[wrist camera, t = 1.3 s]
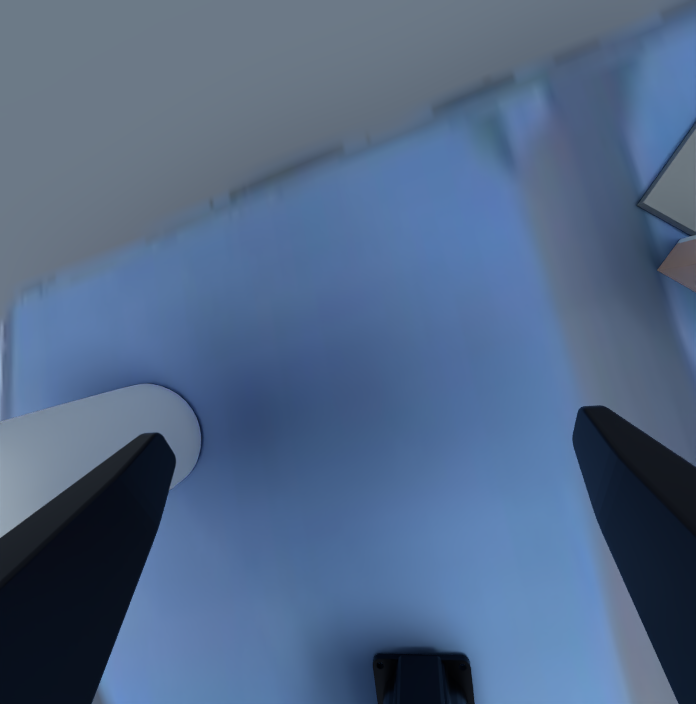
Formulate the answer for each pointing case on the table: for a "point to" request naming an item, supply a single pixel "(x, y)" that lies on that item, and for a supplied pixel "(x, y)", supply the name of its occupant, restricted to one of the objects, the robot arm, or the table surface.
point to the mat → (676, 188)
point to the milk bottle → (86, 443)
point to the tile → (682, 263)
